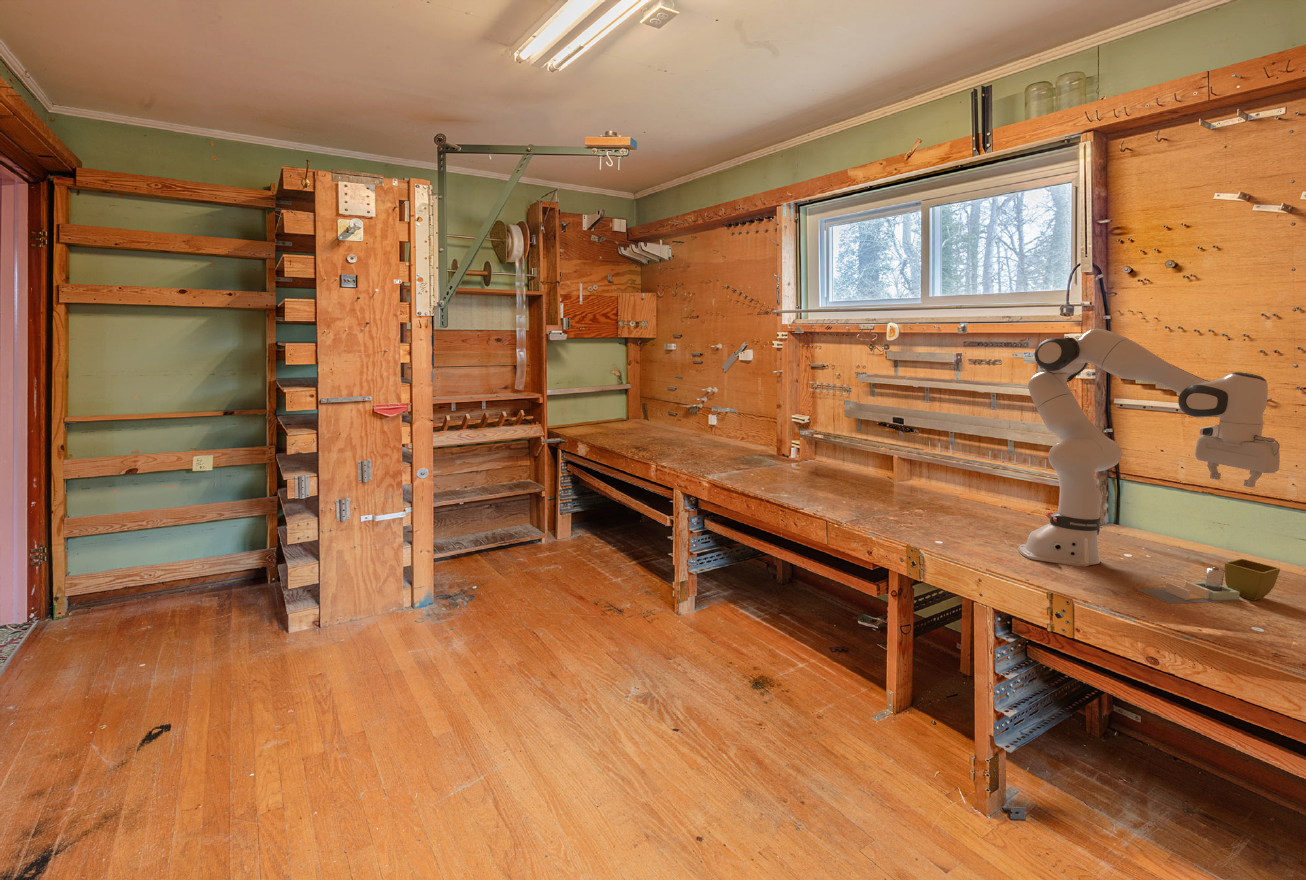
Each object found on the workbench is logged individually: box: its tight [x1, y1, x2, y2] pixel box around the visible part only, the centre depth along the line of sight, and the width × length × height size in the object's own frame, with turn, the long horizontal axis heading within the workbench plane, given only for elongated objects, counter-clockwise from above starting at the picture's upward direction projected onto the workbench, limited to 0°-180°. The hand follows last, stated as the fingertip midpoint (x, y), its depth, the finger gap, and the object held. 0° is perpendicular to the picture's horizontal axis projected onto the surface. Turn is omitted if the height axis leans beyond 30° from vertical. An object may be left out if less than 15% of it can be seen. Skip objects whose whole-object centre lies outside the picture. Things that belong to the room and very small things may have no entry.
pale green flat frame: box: [1190, 581, 1240, 600], centre depth 176 cm, size 8×8×2 cm
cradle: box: [1165, 581, 1210, 600], centre depth 175 cm, size 7×6×2 cm
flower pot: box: [1224, 558, 1281, 601], centre depth 177 cm, size 9×9×9 cm
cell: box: [1204, 566, 1225, 591], centre depth 175 cm, size 4×4×8 cm
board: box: [1136, 587, 1243, 605], centre depth 175 cm, size 22×10×1 cm, turn 97°
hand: (1231, 482), depth 177 cm, fingers open, 8 cm apart
